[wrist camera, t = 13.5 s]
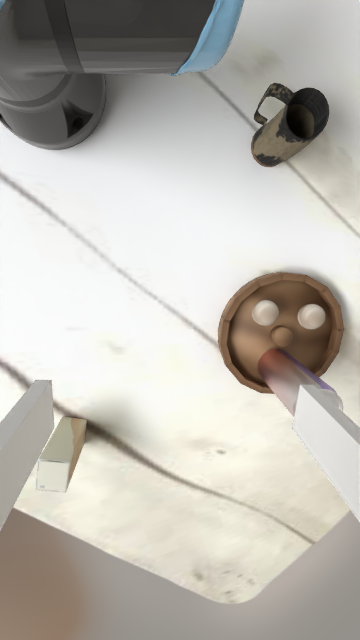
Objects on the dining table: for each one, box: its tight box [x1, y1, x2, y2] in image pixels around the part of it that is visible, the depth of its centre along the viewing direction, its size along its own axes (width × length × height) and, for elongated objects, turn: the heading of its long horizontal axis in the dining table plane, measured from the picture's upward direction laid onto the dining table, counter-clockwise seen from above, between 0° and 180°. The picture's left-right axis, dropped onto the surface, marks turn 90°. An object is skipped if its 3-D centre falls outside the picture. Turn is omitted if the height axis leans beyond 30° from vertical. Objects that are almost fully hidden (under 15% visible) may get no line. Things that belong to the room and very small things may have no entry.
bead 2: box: [298, 304, 325, 329], centre depth 47 cm, size 4×4×4 cm
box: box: [36, 417, 87, 492], centre depth 46 cm, size 5×4×11 cm
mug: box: [251, 83, 329, 167], centre depth 37 cm, size 8×6×12 cm
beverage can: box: [257, 349, 343, 417], centre depth 43 cm, size 6×6×15 cm
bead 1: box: [252, 300, 279, 326], centre depth 46 cm, size 4×4×4 cm
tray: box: [218, 272, 344, 394], centre depth 49 cm, size 20×20×3 cm
